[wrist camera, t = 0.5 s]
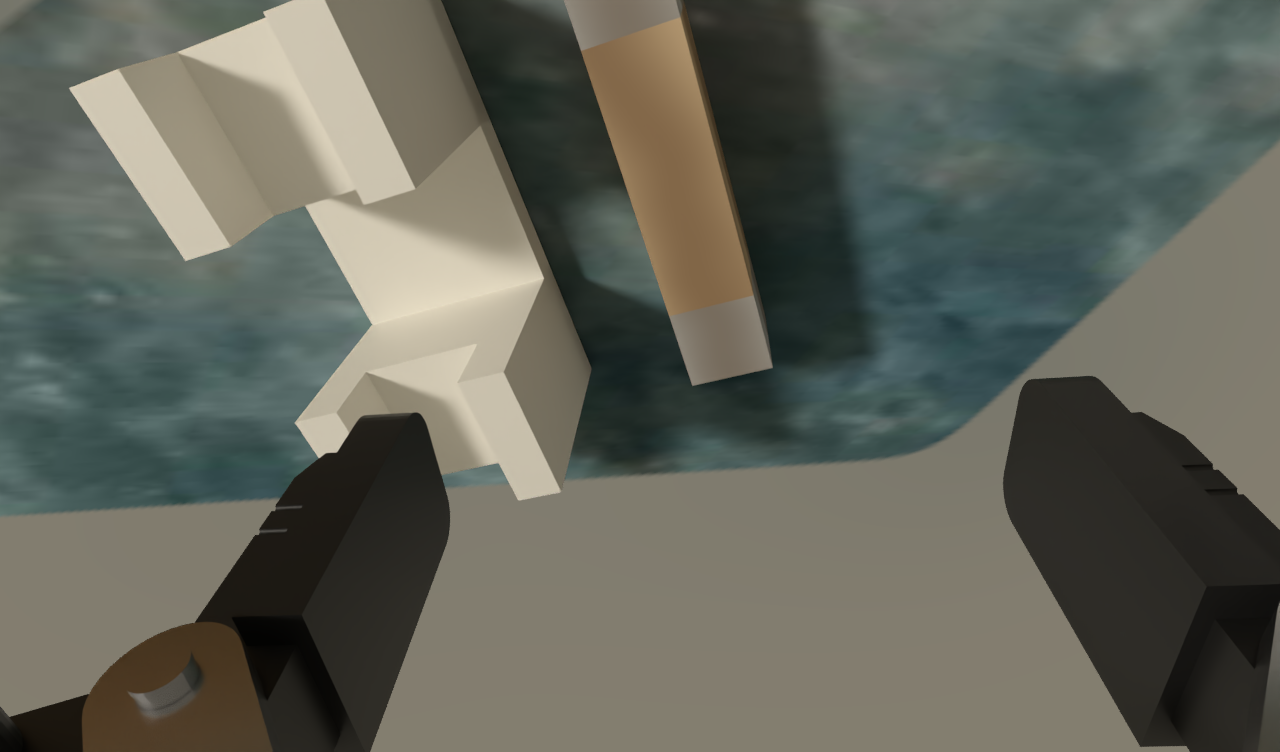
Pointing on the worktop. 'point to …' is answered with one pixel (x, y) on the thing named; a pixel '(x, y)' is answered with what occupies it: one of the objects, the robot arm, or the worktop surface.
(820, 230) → the worktop surface
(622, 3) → the rail
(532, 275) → the white notched block
